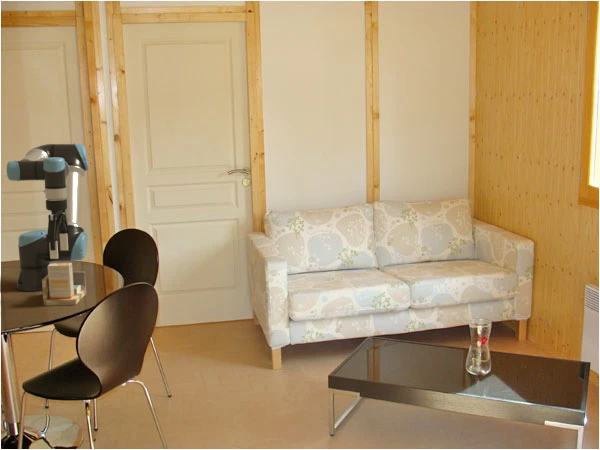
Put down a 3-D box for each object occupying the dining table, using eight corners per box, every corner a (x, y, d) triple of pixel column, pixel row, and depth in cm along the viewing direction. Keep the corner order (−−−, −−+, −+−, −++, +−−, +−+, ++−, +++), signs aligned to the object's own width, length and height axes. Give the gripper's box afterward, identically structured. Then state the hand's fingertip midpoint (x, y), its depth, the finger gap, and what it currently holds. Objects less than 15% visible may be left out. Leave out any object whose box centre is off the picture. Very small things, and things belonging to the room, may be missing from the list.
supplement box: (74, 295, 271) (72, 262, 269) (71, 298, 266) (69, 265, 264) (53, 295, 271) (51, 262, 268) (49, 298, 266) (47, 265, 263)
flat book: (61, 289, 278) (61, 284, 278) (81, 289, 279) (80, 284, 278) (56, 294, 272) (56, 288, 272) (77, 293, 273) (76, 288, 272)
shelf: (55, 293, 280) (54, 269, 278) (86, 293, 281) (84, 269, 279) (43, 305, 264) (41, 279, 263) (75, 304, 265) (74, 279, 263)
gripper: (55, 194, 273) (58, 246, 278) (35, 204, 249) (39, 262, 253) (75, 194, 274) (77, 246, 278) (56, 204, 249) (60, 262, 253)
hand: (59, 254), depth 266 cm, fingers open, 13 cm apart
